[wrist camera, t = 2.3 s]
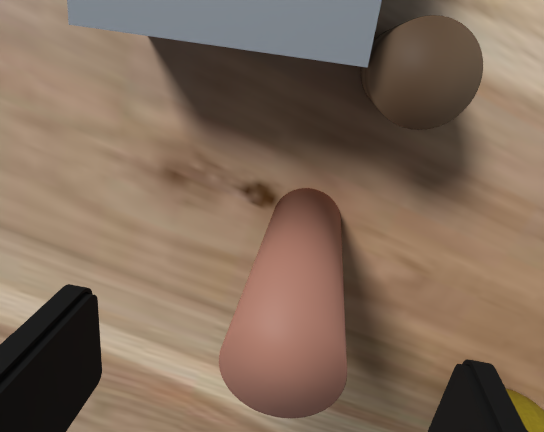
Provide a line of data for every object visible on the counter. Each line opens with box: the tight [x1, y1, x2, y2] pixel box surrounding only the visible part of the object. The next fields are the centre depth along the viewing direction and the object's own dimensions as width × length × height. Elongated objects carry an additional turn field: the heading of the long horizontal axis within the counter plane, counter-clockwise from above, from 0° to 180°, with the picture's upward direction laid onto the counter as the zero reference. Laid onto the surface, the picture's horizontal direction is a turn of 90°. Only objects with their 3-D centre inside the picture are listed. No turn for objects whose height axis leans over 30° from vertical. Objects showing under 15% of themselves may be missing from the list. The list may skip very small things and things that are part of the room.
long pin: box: [219, 188, 347, 418], centre depth 16 cm, size 4×4×11 cm
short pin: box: [361, 15, 483, 130], centre depth 16 cm, size 4×4×5 cm
